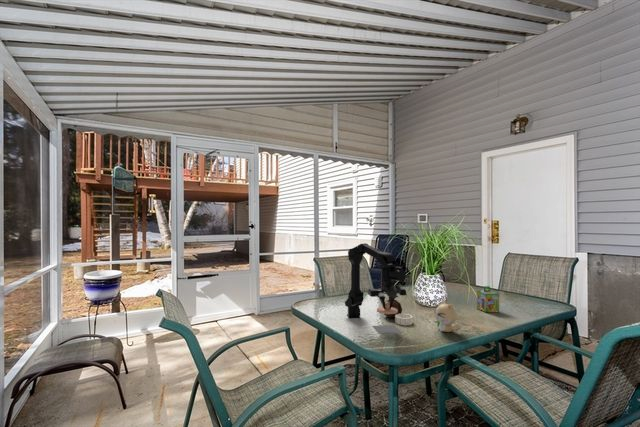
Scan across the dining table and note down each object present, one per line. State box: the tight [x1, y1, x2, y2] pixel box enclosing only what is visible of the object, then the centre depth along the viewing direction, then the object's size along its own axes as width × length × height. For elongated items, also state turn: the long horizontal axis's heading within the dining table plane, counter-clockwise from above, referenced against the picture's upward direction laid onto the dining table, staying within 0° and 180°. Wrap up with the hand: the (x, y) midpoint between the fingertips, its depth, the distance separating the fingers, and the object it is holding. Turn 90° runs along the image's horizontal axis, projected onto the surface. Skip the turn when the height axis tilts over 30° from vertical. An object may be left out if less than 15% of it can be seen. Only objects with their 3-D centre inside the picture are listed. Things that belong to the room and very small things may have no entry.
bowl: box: [394, 312, 414, 326], centre depth 170 cm, size 9×9×4 cm
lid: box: [376, 301, 398, 315], centre depth 159 cm, size 10×10×4 cm
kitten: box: [434, 298, 462, 333], centre depth 158 cm, size 15×10×15 cm, turn 4°
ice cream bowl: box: [383, 299, 403, 319], centre depth 180 cm, size 11×11×15 cm
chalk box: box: [476, 285, 500, 313], centre depth 193 cm, size 9×9×15 cm
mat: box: [372, 324, 404, 335], centre depth 159 cm, size 12×12×1 cm
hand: (387, 309), depth 159 cm, fingers closed on lid, 3 cm apart
